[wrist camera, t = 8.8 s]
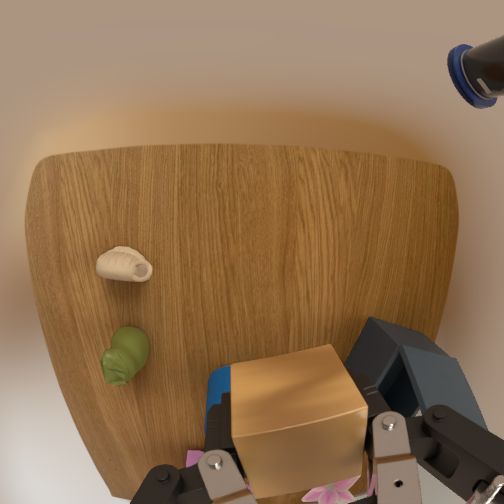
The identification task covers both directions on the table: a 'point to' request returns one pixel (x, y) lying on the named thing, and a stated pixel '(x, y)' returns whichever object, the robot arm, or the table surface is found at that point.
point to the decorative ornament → (123, 265)
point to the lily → (332, 492)
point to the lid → (440, 383)
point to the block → (297, 421)
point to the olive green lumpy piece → (125, 355)
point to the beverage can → (217, 387)
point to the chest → (389, 362)
